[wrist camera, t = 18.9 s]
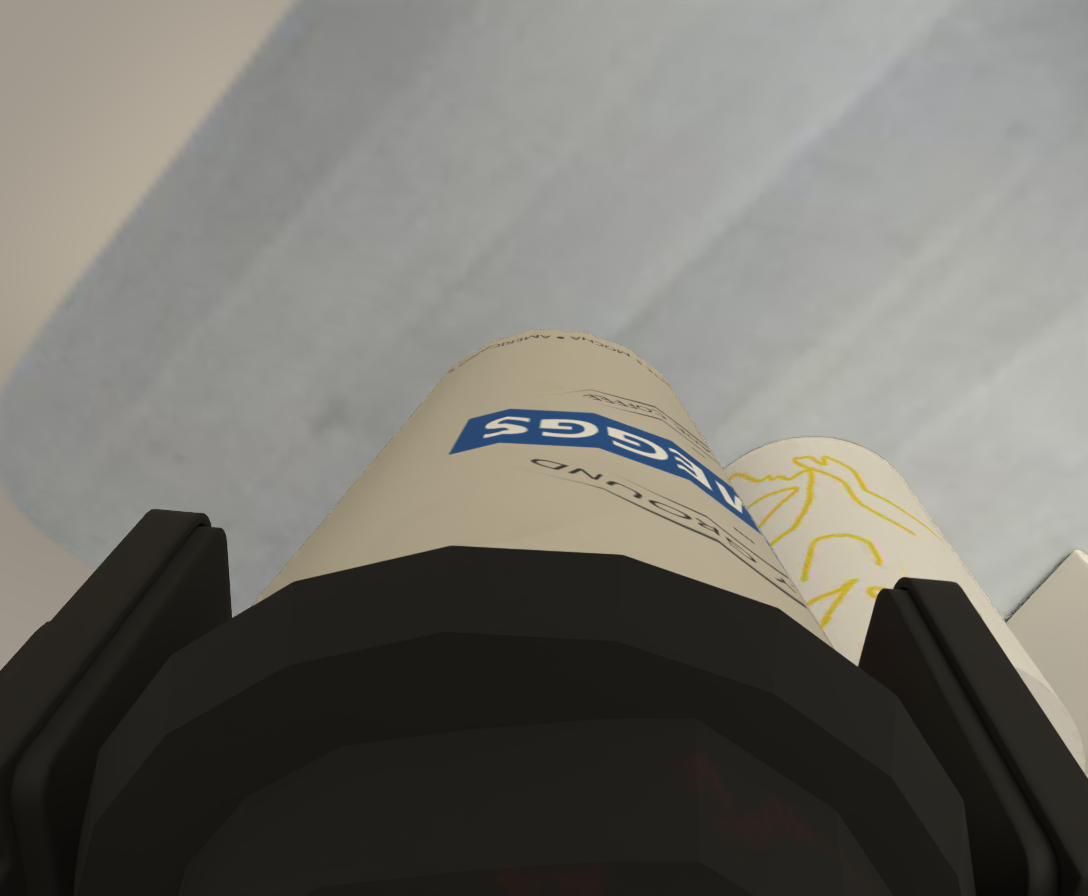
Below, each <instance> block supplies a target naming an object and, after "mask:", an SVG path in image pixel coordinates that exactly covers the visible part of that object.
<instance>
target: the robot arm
mask: <svg viewBox="0 0 1088 896" xmlns="http://www.w3.org/2000/svg"><path fill="white" fill-rule="evenodd" d="M230 619H232V610H231V595H230V580H229V565H228V550H227V539H226V534H225V532H224V530H223V529H222V528H215V527H211V523H210V520H209V518H208V516H207V515H206V514H204V513H193V512H182V511H171V510H160V509H151V510H150V511H149V512H148V513H146V514H145V515H144V517H143V518H142V519H141V520H140V521H139V522H138V523H137V524H136V526H135V527H134V528H133V529H132V530H131V531H130V532H129V533H128V535H127V536H126V537H125V538H124V539H123V540H122V541H121V542H120V544H119V545H118V546H117V547H116V548H115V549H114V550H113V551H112V553H111V554H110V555H109V556H108V557H107V558H106V559H105V560H104V562H103V563H102V564H101V565H100V566H99V567H98V568H97V569H96V571H95V572H94V573H93V574H92V575H91V576H90V577H89V578H88V580H87V581H86V582H85V583H84V584H83V585H82V586H81V588H80V589H79V590H78V591H77V592H76V593H75V594H74V595H73V597H72V598H71V599H70V600H69V601H68V602H67V603H66V604H65V606H64V607H63V608H62V609H61V610H60V611H59V612H58V613H57V615H56V616H55V617H54V618H53V619H52V620H51V621H49V622H46V623H45V624H44V625H43V626H42V627H40V628H39V629H38V630H37V631H36V632H35V633H34V634H33V635H32V636H31V637H30V638H29V640H28V641H27V642H26V643H25V644H24V645H23V646H22V647H21V648H20V650H19V651H18V652H17V653H16V654H15V655H14V656H13V658H11V660H10V661H9V662H8V663H7V664H6V665H5V666H4V667H3V668H2V670H1V671H0V896H73V894H74V881H75V869H76V861H77V855H78V848H79V842H80V835H81V831H82V826H83V821H84V817H85V812H86V808H87V803H88V799H89V794H90V789H91V785H92V780H93V776H94V771H95V767H96V762H97V757H98V753H99V749H100V748H101V746H102V745H103V744H104V743H105V741H106V740H107V739H108V737H109V736H110V735H111V733H112V732H113V731H114V729H115V728H116V727H117V726H118V724H119V723H120V722H121V720H122V719H123V718H124V716H125V715H126V714H127V712H128V711H129V710H130V709H131V707H132V706H133V705H134V703H135V702H136V701H137V699H138V698H139V697H140V695H141V694H142V693H143V692H144V690H145V689H146V688H147V686H148V685H149V684H150V682H151V681H152V680H153V678H154V677H155V676H156V675H157V673H158V672H159V671H160V669H161V668H162V667H163V665H164V664H165V663H166V661H167V660H168V659H169V658H170V656H171V655H172V654H173V653H175V652H177V651H178V650H180V649H182V648H183V647H185V646H187V645H188V644H190V643H192V642H193V641H195V640H197V639H198V638H200V637H202V636H203V635H205V634H207V633H208V632H210V631H212V630H213V629H215V628H217V627H218V626H220V625H222V624H223V623H225V622H227V621H228V620H230ZM858 667H859V668H860V669H862V670H863V671H864V672H866V673H867V674H869V675H870V676H871V677H873V678H874V679H875V680H877V681H878V682H879V683H881V684H882V685H883V686H885V687H886V688H887V689H889V690H890V691H892V692H893V693H894V694H896V695H897V697H898V698H899V700H900V701H901V703H902V704H903V706H904V708H905V709H906V711H907V712H908V714H909V715H910V717H911V719H912V720H913V722H914V723H915V725H916V726H917V728H918V730H919V731H920V733H921V734H922V736H923V737H924V739H925V741H926V742H927V744H928V745H929V747H930V748H931V750H932V752H933V753H934V755H935V756H936V758H937V759H938V761H939V762H940V764H941V766H942V767H943V769H944V770H945V772H946V773H947V775H948V777H949V778H950V780H951V781H952V783H953V784H954V786H955V788H956V789H957V791H958V792H959V794H960V795H961V797H962V799H963V801H964V808H965V815H966V823H967V830H968V837H969V845H970V852H971V860H972V867H973V874H974V882H975V889H976V896H1088V778H1087V776H1086V775H1085V773H1084V772H1083V770H1082V769H1081V767H1080V766H1079V764H1078V763H1077V761H1076V760H1075V758H1074V757H1073V755H1072V754H1071V752H1070V751H1069V749H1068V748H1067V746H1066V745H1065V743H1064V742H1063V740H1062V738H1061V737H1060V735H1059V734H1058V732H1057V731H1056V729H1055V728H1054V726H1053V725H1052V723H1051V722H1050V720H1049V719H1048V717H1047V716H1046V714H1045V713H1044V711H1043V710H1042V708H1041V707H1040V705H1039V704H1038V702H1037V701H1036V699H1035V698H1034V696H1033V695H1032V693H1031V692H1030V690H1029V689H1028V687H1027V686H1026V684H1025V683H1024V681H1023V680H1022V678H1021V677H1020V675H1019V674H1018V672H1017V671H1016V669H1015V668H1014V666H1013V664H1012V663H1011V661H1010V660H1009V658H1008V657H1007V655H1006V654H1005V652H1004V651H1003V649H1002V648H1001V646H1000V645H999V643H998V642H997V640H996V639H995V637H994V636H993V634H992V633H991V631H990V630H989V628H988V627H987V625H986V624H985V622H984V621H983V619H982V618H981V616H980V615H979V613H978V612H977V610H976V609H975V607H974V606H973V604H972V603H971V601H970V600H969V598H968V597H967V595H966V593H965V592H964V590H963V589H962V587H961V586H960V585H959V584H958V583H957V582H952V581H943V580H932V579H921V578H910V577H902V578H900V579H899V580H898V581H897V583H896V584H895V586H894V588H893V589H887V588H883V589H882V590H880V592H879V593H878V595H877V598H876V600H875V604H874V608H873V611H872V615H871V619H870V623H869V626H868V630H867V634H866V637H865V641H864V645H863V649H862V652H861V656H860V660H859V663H858Z"/></svg>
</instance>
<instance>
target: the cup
mask: <svg viewBox="0 0 1088 896" xmlns="http://www.w3.org/2000/svg"><path fill="white" fill-rule="evenodd" d="M723 471H724V472H725V474H726V475H727V477H728V479H729V480H730V482H731V483H732V485H733V487H734V488H735V490H736V491H737V493H738V495H739V496H740V498H741V499H742V501H743V503H744V504H745V506H746V507H747V509H748V511H749V512H750V514H751V515H752V517H753V519H754V520H755V522H756V523H757V525H758V527H759V528H760V530H761V531H762V533H763V535H764V536H765V538H766V539H767V541H768V543H769V544H770V546H771V547H772V549H773V551H774V552H775V554H776V555H777V557H778V559H779V560H780V562H781V563H782V565H783V567H784V568H785V570H786V571H787V573H788V575H789V576H790V578H791V579H792V581H793V583H794V584H795V586H796V587H797V589H798V591H799V592H800V594H801V596H802V597H803V599H804V600H805V602H806V604H807V605H808V607H809V608H810V610H811V612H812V613H813V615H814V616H815V618H816V620H817V621H818V623H819V624H820V626H821V628H822V629H823V631H824V632H825V634H826V636H827V637H828V639H829V640H830V642H831V644H832V645H833V647H834V648H835V650H836V651H837V652H839V653H840V654H841V655H843V656H844V657H845V658H847V659H848V660H850V661H851V662H852V663H854V664H855V665H856V666H858V663H859V660H860V656H861V652H862V649H863V645H864V641H865V637H866V634H867V630H868V626H869V623H870V619H871V615H872V611H873V608H874V604H875V600H876V598H877V595H878V593H879V592H880V590H882V589H883V588H887V589H893V588H894V586H895V584H896V583H897V581H898V580H899V579H900V578H902V577H910V578H921V579H932V580H943V581H952V582H957V583H958V584H959V585H960V586H961V587H962V589H963V590H964V592H965V593H966V595H967V597H968V598H969V600H970V601H971V603H972V604H973V606H974V607H975V609H976V610H977V612H978V613H979V615H980V616H981V618H982V619H983V621H984V622H985V624H986V625H987V627H988V628H989V630H990V631H991V633H992V634H993V636H994V637H995V639H996V640H997V642H998V643H999V645H1000V646H1001V648H1002V649H1003V651H1004V652H1005V654H1006V655H1007V657H1008V658H1009V660H1010V661H1011V663H1012V664H1013V666H1014V668H1015V669H1016V671H1017V672H1018V674H1019V675H1020V677H1021V678H1022V680H1023V681H1024V683H1025V684H1026V686H1027V687H1028V689H1029V690H1030V692H1031V693H1032V695H1033V696H1034V698H1035V699H1036V701H1037V702H1038V704H1039V705H1040V707H1041V708H1042V710H1043V711H1044V713H1045V714H1046V716H1047V717H1048V719H1049V720H1050V722H1051V723H1052V725H1053V726H1054V728H1055V729H1056V731H1057V732H1058V734H1059V735H1060V737H1061V738H1062V740H1063V742H1064V743H1065V745H1066V746H1067V748H1068V749H1069V751H1070V752H1071V754H1072V755H1073V757H1074V758H1075V760H1076V761H1077V763H1078V764H1079V766H1080V767H1081V769H1082V770H1083V772H1084V768H1085V761H1084V751H1083V745H1082V741H1081V738H1080V734H1079V731H1078V729H1077V727H1076V724H1075V722H1074V720H1073V719H1072V717H1071V715H1070V713H1069V712H1068V710H1067V709H1066V707H1065V706H1064V705H1063V703H1062V702H1061V700H1060V699H1059V698H1058V696H1057V695H1056V693H1055V692H1054V691H1053V689H1052V688H1051V686H1050V685H1049V684H1048V682H1047V681H1046V679H1045V678H1044V676H1043V675H1042V674H1041V672H1040V671H1039V669H1038V668H1037V667H1036V665H1035V664H1034V662H1033V661H1032V660H1031V658H1030V657H1029V655H1028V654H1027V653H1026V651H1025V650H1024V648H1023V647H1022V646H1021V644H1020V643H1019V641H1018V640H1017V639H1016V637H1015V636H1014V634H1013V633H1012V632H1011V630H1010V629H1009V627H1008V626H1007V624H1006V623H1005V622H1004V620H1003V619H1002V617H1001V616H1000V615H999V613H998V612H997V610H996V609H995V608H994V606H993V605H992V603H991V602H990V601H989V599H988V598H987V596H986V595H985V594H984V592H983V591H982V589H981V588H980V587H979V585H978V584H977V582H976V581H975V579H974V578H973V577H972V575H971V574H970V572H969V571H968V570H967V568H966V567H965V565H964V564H963V563H962V561H961V560H960V558H959V557H958V556H957V554H956V553H955V551H954V550H953V549H952V547H951V546H950V544H949V543H948V542H947V540H946V539H945V537H944V536H943V534H942V533H941V532H940V530H939V529H938V527H937V526H936V525H935V523H934V522H933V520H932V519H931V518H930V516H929V515H928V513H927V512H926V511H925V509H924V508H923V506H922V505H921V504H920V502H919V501H918V499H917V498H916V497H915V495H914V494H913V492H912V491H911V490H910V488H909V487H908V485H907V484H906V482H905V481H904V480H903V478H902V477H901V476H900V474H899V473H898V472H897V471H896V470H895V469H894V468H893V467H892V466H891V465H890V464H889V463H888V462H886V461H885V460H884V459H883V458H881V457H880V456H878V455H877V454H875V453H873V452H871V451H870V450H868V449H866V448H863V447H861V446H859V445H856V444H853V443H850V442H847V441H843V440H838V439H833V438H825V437H801V438H793V439H786V440H782V441H778V442H774V443H771V444H768V445H765V446H763V447H760V448H758V449H756V450H753V451H751V452H749V453H748V454H746V455H744V456H742V457H741V458H739V459H738V460H736V461H735V462H733V463H732V464H730V465H729V466H728V467H727V468H725V469H724V470H723Z"/></svg>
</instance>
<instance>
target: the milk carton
mask: <svg viewBox="0 0 1088 896" xmlns="http://www.w3.org/2000/svg"><path fill="white" fill-rule="evenodd" d="M1006 624H1007V626H1008V627H1009V629H1010V630H1011V632H1012V633H1013V634H1014V636H1015V637H1016V639H1017V640H1018V641H1019V643H1020V644H1021V646H1022V647H1023V648H1024V650H1025V651H1026V653H1027V654H1028V655H1029V657H1030V658H1031V660H1032V661H1033V662H1034V664H1035V665H1036V667H1037V668H1038V669H1039V671H1040V672H1041V674H1042V675H1043V676H1044V678H1045V679H1046V681H1047V682H1048V684H1049V685H1050V686H1051V688H1052V689H1053V691H1054V692H1055V693H1056V695H1057V696H1058V698H1059V699H1060V700H1061V702H1062V703H1063V705H1064V706H1065V707H1066V709H1067V710H1068V712H1069V713H1070V715H1071V717H1072V719H1073V720H1074V722H1075V724H1076V727H1077V729H1078V731H1079V734H1080V738H1081V741H1082V745H1083V751H1084V761H1085V768H1084V773H1085V775H1086V776H1087V778H1088V555H1087V554H1085V553H1083V552H1081V551H1079V550H1075V551H1073V552H1072V553H1071V554H1070V555H1069V556H1068V558H1067V559H1066V560H1065V561H1064V562H1063V563H1062V564H1061V565H1060V566H1059V567H1058V568H1057V569H1056V570H1055V571H1054V572H1053V573H1052V574H1051V575H1050V577H1049V578H1048V579H1047V580H1046V581H1045V582H1044V583H1043V584H1042V585H1041V586H1040V587H1039V588H1038V589H1037V590H1036V591H1035V592H1034V594H1033V595H1032V596H1031V597H1030V598H1029V599H1028V600H1027V601H1026V602H1025V603H1024V604H1023V605H1022V606H1021V607H1020V608H1019V609H1018V611H1017V612H1016V613H1015V614H1014V615H1013V616H1012V617H1011V618H1010V619H1009V620H1008V621H1007V622H1006Z"/></svg>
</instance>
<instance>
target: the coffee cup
mask: <svg viewBox="0 0 1088 896" xmlns="http://www.w3.org/2000/svg"><path fill="white" fill-rule="evenodd" d="M73 896H976V889H975V882H974V874H973V867H972V860H971V852H970V845H969V837H968V830H967V823H966V815H965V808H964V801H963V799H962V797H961V795H960V794H959V792H958V791H957V789H956V788H955V786H954V784H953V783H952V781H951V780H950V778H949V777H948V775H947V773H946V772H945V770H944V769H943V767H942V766H941V764H940V762H939V761H938V759H937V758H936V756H935V755H934V753H933V752H932V750H931V748H930V747H929V745H928V744H927V742H926V741H925V739H924V737H923V736H922V734H921V733H920V731H919V730H918V728H917V726H916V725H915V723H914V722H913V720H912V719H911V717H910V715H909V714H908V712H907V711H906V709H905V708H904V706H903V704H902V703H901V701H900V700H899V698H898V697H897V695H896V694H894V693H893V692H892V691H890V690H889V689H887V688H886V687H885V686H883V685H882V684H881V683H879V682H878V681H877V680H875V679H874V678H873V677H871V676H870V675H869V674H867V673H866V672H864V671H863V670H862V669H860V668H859V667H858V666H856V665H855V664H854V663H852V662H851V661H850V660H848V659H847V658H845V657H844V656H843V655H841V654H840V653H839V652H837V651H836V650H835V648H834V647H833V645H832V644H831V642H830V640H829V639H828V637H827V636H826V634H825V632H824V631H823V629H822V628H821V626H820V624H819V623H818V621H817V620H816V618H815V616H814V615H813V613H812V612H811V610H810V608H809V607H808V605H807V604H806V602H805V600H804V599H803V597H802V596H801V594H800V592H799V591H798V589H797V587H796V586H795V584H794V583H793V581H792V579H791V578H790V576H789V575H788V573H787V571H786V570H785V568H784V567H783V565H782V563H781V562H780V560H779V559H778V557H777V555H776V554H775V552H774V551H773V549H772V547H771V546H770V544H769V543H768V541H767V539H766V538H765V536H764V535H763V533H762V531H761V530H760V528H759V527H758V525H757V523H756V522H755V520H754V519H753V517H752V515H751V514H750V512H749V511H748V509H747V507H746V506H745V504H744V503H743V501H742V499H741V498H740V496H739V495H738V493H737V491H736V490H735V488H734V487H733V485H732V483H731V482H730V480H729V479H728V477H727V475H726V474H725V472H724V471H723V469H722V467H721V466H720V464H719V462H718V461H717V459H716V458H715V456H714V454H713V453H712V451H711V450H710V448H709V446H708V445H707V443H706V442H705V440H704V438H703V437H702V435H701V434H700V432H699V430H698V429H697V427H696V426H695V424H694V422H693V421H692V419H691V418H690V416H689V414H688V413H687V411H686V410H685V408H684V407H683V405H682V404H681V402H680V401H679V399H678V397H677V396H676V394H675V393H674V391H673V390H672V388H671V387H670V385H669V384H668V382H667V381H666V379H665V377H664V376H663V375H661V374H660V373H659V372H658V371H656V370H655V369H654V368H653V367H651V366H650V365H649V364H647V363H646V362H645V361H644V360H642V359H641V358H640V357H638V356H637V355H636V354H635V353H633V352H632V351H631V350H630V349H628V348H626V347H623V346H621V345H618V344H615V343H612V342H610V341H607V340H604V339H602V338H599V337H596V336H593V335H591V334H588V333H585V332H574V331H554V330H533V331H529V332H525V333H521V334H518V335H514V336H510V337H506V338H502V339H498V340H495V341H491V342H489V343H488V344H486V345H485V346H483V347H482V348H480V349H478V350H477V351H475V352H474V353H472V354H471V355H469V356H467V357H466V358H464V359H463V360H461V361H460V362H458V363H457V364H455V365H453V366H452V367H451V369H450V370H449V371H448V372H447V373H446V375H445V376H444V377H443V378H442V379H441V381H440V382H439V383H438V384H437V385H436V387H435V388H434V389H433V390H432V391H431V393H430V394H429V395H428V396H427V397H426V399H425V400H424V401H423V402H422V403H421V405H420V406H419V407H418V408H417V409H416V410H415V412H414V413H413V414H412V415H411V416H410V418H409V419H408V420H407V421H406V422H405V424H404V425H403V426H402V427H401V428H400V430H399V431H398V432H397V433H396V434H395V436H394V437H393V438H392V439H391V440H390V442H389V443H388V444H387V445H386V446H385V448H384V449H383V450H382V451H381V452H380V453H379V455H378V456H377V457H376V458H375V459H374V461H373V462H372V463H371V464H370V465H369V467H368V468H367V469H366V470H365V471H364V473H363V474H362V475H361V476H360V477H359V479H358V480H357V481H356V482H355V483H354V485H353V486H352V487H351V488H350V489H349V491H348V492H347V493H346V494H345V495H344V496H343V498H342V499H341V500H340V501H339V502H338V504H337V505H336V506H335V507H334V508H333V510H332V511H331V512H330V513H329V514H328V516H327V517H326V518H325V519H324V520H323V522H322V523H321V524H320V525H319V526H318V528H317V529H316V530H315V531H314V532H313V534H312V535H311V536H310V537H309V538H308V539H307V541H306V542H305V543H304V544H303V545H302V547H301V548H300V549H299V550H298V551H297V553H296V554H295V555H294V556H293V557H292V559H291V560H290V561H289V562H288V563H287V565H286V566H285V567H284V568H283V569H282V571H281V572H280V573H279V574H278V575H277V577H276V578H275V579H274V580H273V581H272V582H271V584H270V585H269V586H268V587H267V588H266V590H265V591H264V592H263V593H262V594H261V596H260V597H259V598H258V599H257V600H256V602H255V603H254V604H253V605H252V606H251V607H250V608H248V609H247V610H245V611H243V612H242V613H240V614H238V615H237V616H235V617H233V618H232V619H230V620H228V621H227V622H225V623H223V624H222V625H220V626H218V627H217V628H215V629H213V630H212V631H210V632H208V633H207V634H205V635H203V636H202V637H200V638H198V639H197V640H195V641H193V642H192V643H190V644H188V645H187V646H185V647H183V648H182V649H180V650H178V651H177V652H175V653H173V654H172V655H171V656H170V658H169V659H168V660H167V661H166V663H165V664H164V665H163V667H162V668H161V669H160V671H159V672H158V673H157V675H156V676H155V677H154V678H153V680H152V681H151V682H150V684H149V685H148V686H147V688H146V689H145V690H144V692H143V693H142V694H141V695H140V697H139V698H138V699H137V701H136V702H135V703H134V705H133V706H132V707H131V709H130V710H129V711H128V712H127V714H126V715H125V716H124V718H123V719H122V720H121V722H120V723H119V724H118V726H117V727H116V728H115V729H114V731H113V732H112V733H111V735H110V736H109V737H108V739H107V740H106V741H105V743H104V744H103V745H102V746H101V748H100V749H99V753H98V757H97V762H96V767H95V771H94V776H93V780H92V785H91V789H90V794H89V799H88V803H87V808H86V812H85V817H84V821H83V826H82V831H81V835H80V842H79V848H78V855H77V861H76V869H75V881H74V894H73Z"/></svg>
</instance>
